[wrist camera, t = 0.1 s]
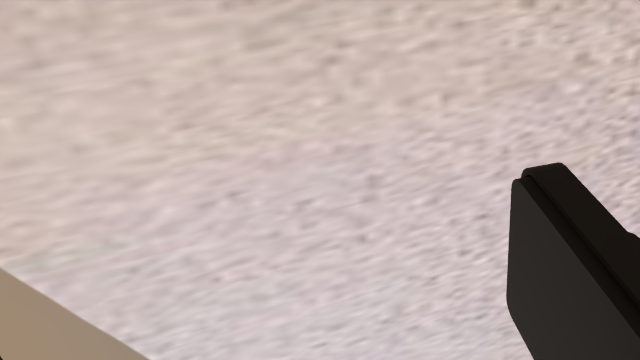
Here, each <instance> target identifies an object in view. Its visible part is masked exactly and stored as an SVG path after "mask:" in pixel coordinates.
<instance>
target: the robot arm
mask: <svg viewBox="0 0 640 360" xmlns="http://www.w3.org/2000/svg"><path fill="white" fill-rule="evenodd" d="M506 297H507V305H508V309H509V312H510V315H511V317H512V319H513V321H514V323H515V325H516V327H517V329H518V330H519V332H520V334H521V336H522V338H523V340H524V342H525V344H526V345H527V347H528V349H529V351H530V353H531V355H532V357H533V359H534V360H640V238H639V237H637V236H636V235H635V234H633V233H629V232H627V231H626V230H625V229H624V228H623V227H622V225H621V224H620V223H619V222H618V221H617V220H616V219H615V218H614V217H613V216H612V215H611V214H610V213H609V212H608V211H607V209H606V208H605V207H604V206H603V205H602V204H601V203H600V202H599V201H598V200H597V199H596V198H595V197H594V196H593V195H592V193H591V192H590V191H589V190H588V189H587V188H586V187H585V186H584V185H583V184H582V183H581V182H580V181H579V180H578V179H577V177H576V176H575V175H574V174H573V173H572V172H571V171H570V170H569V169H568V168H567V167H566V166H565V165H564V164H562V163H553V164H547V165H542V166H536V167H531V168H526V169H525V170H523V173H522V176H521V178H519V179H515V180H513V183H512V189H511V210H510V231H509V251H508V272H507V293H506ZM0 360H3V359H2V358H1V357H0Z"/></svg>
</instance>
